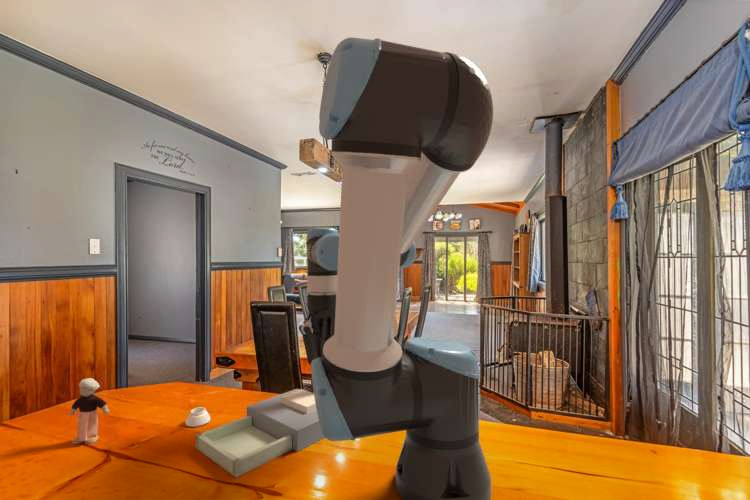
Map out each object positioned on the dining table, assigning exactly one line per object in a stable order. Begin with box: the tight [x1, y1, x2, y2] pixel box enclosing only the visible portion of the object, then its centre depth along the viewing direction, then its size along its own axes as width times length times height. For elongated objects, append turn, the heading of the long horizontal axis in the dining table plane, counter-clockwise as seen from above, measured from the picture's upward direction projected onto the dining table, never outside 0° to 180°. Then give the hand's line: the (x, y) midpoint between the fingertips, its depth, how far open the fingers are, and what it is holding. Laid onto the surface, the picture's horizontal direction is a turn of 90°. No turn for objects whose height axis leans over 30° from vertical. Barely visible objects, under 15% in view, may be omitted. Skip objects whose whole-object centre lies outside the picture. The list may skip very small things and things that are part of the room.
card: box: [281, 388, 317, 414], centre depth 83 cm, size 9×6×1 cm, turn 50°
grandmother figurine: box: [69, 377, 110, 445], centre depth 76 cm, size 8×4×13 cm, turn 102°
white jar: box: [185, 406, 211, 428], centre depth 83 cm, size 5×3×5 cm
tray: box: [195, 415, 293, 478], centre depth 72 cm, size 15×12×2 cm
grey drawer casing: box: [246, 388, 325, 452], centre depth 82 cm, size 18×14×4 cm
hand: (323, 392), depth 88 cm, fingers closed
